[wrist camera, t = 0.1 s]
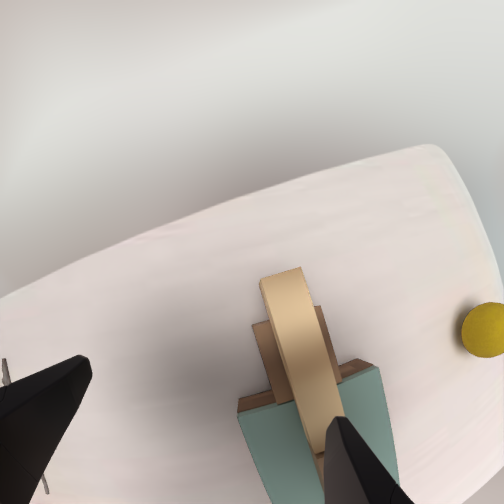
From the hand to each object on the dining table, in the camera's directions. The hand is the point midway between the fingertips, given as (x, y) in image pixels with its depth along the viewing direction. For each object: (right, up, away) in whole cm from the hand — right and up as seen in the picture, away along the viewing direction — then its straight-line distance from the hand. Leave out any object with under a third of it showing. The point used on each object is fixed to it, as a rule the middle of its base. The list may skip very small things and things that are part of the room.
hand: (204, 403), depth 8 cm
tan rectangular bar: (+5, -2, +10) cm, 11 cm away
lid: (+8, -13, +9) cm, 18 cm away
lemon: (+25, -4, +15) cm, 29 cm away
